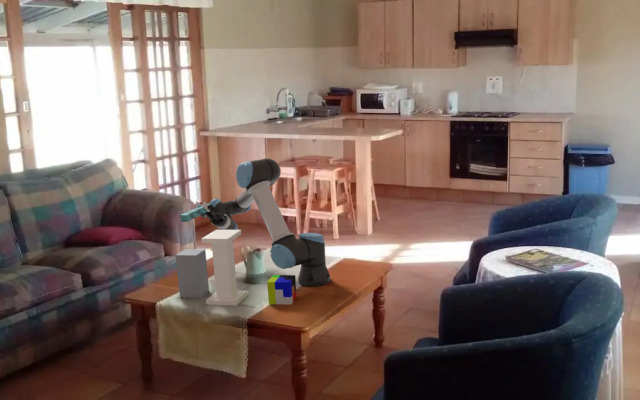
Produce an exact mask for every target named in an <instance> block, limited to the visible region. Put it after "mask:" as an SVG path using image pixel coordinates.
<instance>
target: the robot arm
mask: <svg viewBox="0 0 640 400" xmlns="http://www.w3.org/2000/svg"><path fill="white" fill-rule="evenodd" d="M281 171H282V169H281V166H280V165H279V163H278V162H277V161H276V160H274V159H272V158H260V159H255V160H254V159H253V160H247V161H243V162H241V163H240V164H239V165H238V166H237V168H236V174H235V177H236V182H237V185H238V186H239V187H240V188H242V189H243V191H242V192H241V193H239V195H238V196H237V197H236V198H235V199H232V200H228V201H224V202H222V200H221V199H220V198H214V199H212V200H210V201H209V203H212V205H211V206H210V205H208V204H207V202H206V201H202V202H203V204H201V203H200V202H199V201H196V203H195V208H197V207H199V206H201V205H203V208H204V209H206V210H207V211H208V212H206V213H204V214H202V215H200V216H199V217H201V218H202V219H204V218H207V219H209V220H210V223H211V224H212V225H213V226H215V227H216V228H217V229H218V230H239V226H238V223H237V222H236V221H235V220H234V219H233V218H232V216H235V215H240V214H245V213H248V212H250V211H251V207H252V204H253V203H255V204H256V206H257V209H258V211H259V213H260V215H261V217H262V219H263V222H264V225H265V226H266V228H267V231H268V232H269V235H270V237H271V238H272V239H271V240H272V241H271V244H270V245H271V248H270V258H271V260H272V262H273V264H274V265H275V266H276V267H277V268H279V269H281V270H282V269H283V270H286V269H291V268H293V267H296V266H300V269H299V274H298V276H297V282H298V284H299V285H300V286H305V287H319V286H320V287H321V286H324V285H326V284H329V283H330V282H331V275H330V272H329V269H328V267H327V264H326V247H325V246H326V243H325V237H324V235H323V234H321V233H317V232H303V233H299V234H298V238H297V237H296V234H295V233H293V232H291V231H290V230H289V227H288V224H287V223H286V221H285V218H284V217H283V214H282V212H281V209H280V208H279V205H278V204H277V201H276V199H275V197H274V195H273V193H272V191H271V189H270V187H271V186H273V185H274V184H276V183H277V181H279V179H280V177H281V174H282V173H281Z"/></svg>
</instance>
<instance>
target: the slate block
mask: <svg viewBox="0 0 640 400" xmlns="http://www.w3.org/2000/svg"><path fill="white" fill-rule="evenodd" d="M206 252H207V251H206V249H203V248H198V249H197V248H184V249H183V250H182V251H180V252H178V253H177V254H175V261H176V263H175V264H176V273H177V281H178V291H179V292H178V293H179V298H180V297H184V299H201V298H202V297H204V296H205V295H206V294H207V293H209V292H210V288H209V287H210V285H209V275H208V274H209V273H208V265H207V264H208V262H207V253H206ZM208 291H209V292H208Z"/></svg>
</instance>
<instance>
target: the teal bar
mask: <svg viewBox="0 0 640 400" xmlns="http://www.w3.org/2000/svg"><path fill="white" fill-rule="evenodd" d="M206 203H207V202H206ZM207 204H208V205H210V206H211V205H212V203H210V202H208V203H207ZM206 212H208V211H207V210H206V209H204V208H203V204H201V206H199V207H197V208H196V207H195V208H193V209H190V210H188V211H185V212H184V213H181V214H180V215H179V216H180V222H181V223H187V222H190V221H192V220H193V219H195V218H198V217H201V216H200V215H202V214H204V213H206Z"/></svg>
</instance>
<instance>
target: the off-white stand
mask: <svg viewBox="0 0 640 400" xmlns="http://www.w3.org/2000/svg"><path fill="white" fill-rule="evenodd" d="M241 235H242V229H238V230H220V229H214V230H213V231H212V232H210V233H208V234H206V235H205V236H203V237H202V238H201V244H211V251H212V261H213V262H212V263H213V271H214V272H213V274H214V282H215V285H214V286H215V292H214V293H212V294H211V295H210V296H209V297H208V298H207V299H206V300H205V302H206V305H213V306H237V305H239V304H240V303H241V302H242V301H243V300H244V299H245V298H246V297H247V296H248V295H249V294H248V290H241V289H239V290H238V287H237V273H236V264H235V263H236V262H235V251H234V250H235V249H234V240H235V239H237V238H238V237H239V236H241Z"/></svg>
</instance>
